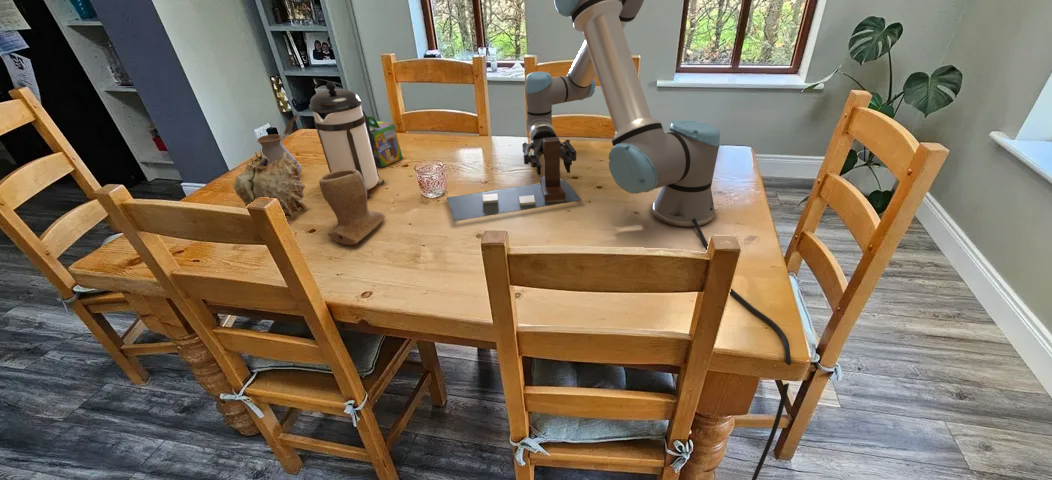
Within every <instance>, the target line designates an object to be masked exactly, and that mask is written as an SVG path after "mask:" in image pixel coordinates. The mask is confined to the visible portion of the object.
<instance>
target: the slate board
mask: <svg viewBox="0 0 1052 480" xmlns="http://www.w3.org/2000/svg"><path fill="white" fill-rule="evenodd" d="M561 182H562V185H563V188H564V191H565V202H554V203H545V201H544V198H543V194H542V190H541V186H540V182H539V183H532V184H526V185H520V186H513V187H505V188H500V189H494V190H488V191H487V190H486V191H480V192H473V193H466V194H460V195H454V196H447V197H446V200H447V203H448V207H449V208H450V213H451V216H452V219H453V222H459V221H464V220H471V219H477V218H482V217H488V216H496V215H501V214H507V213H508V214H509V213H514V212H519V211H524V210H525V211H526V210H530V209H531V210H532V209H537V208H543V207H549V206H555V205H563V204H566V203H573V202H580V201H582V199H581V197H580V196H579V195H578V194H577V193H576V191H575V190H574V189H573V188H572V186H571V185H570V184H569V183H568V182H567V180H566V179H561ZM484 194H497V196H498V203H485V204H483V195H484ZM532 195H534V199H535V205H523V206H520V202H519V196H532Z"/></svg>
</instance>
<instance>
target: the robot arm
mask: <svg viewBox="0 0 1052 480" xmlns="http://www.w3.org/2000/svg"><path fill="white" fill-rule="evenodd" d="M644 1H645V0H553V2H554V6H555V9H556V11H557V13H558V14H559V15H561V16H562V17H566V18H568V17H569V18H570V20H571V23H572V27H573V29H574V30H575V31H577V32H580V33H582V34H583V39H584V41H583V43H582V46H581V48H580V49H579V51H578V54H577V55H576V57H575V59H574V61H573V63H572V65H571V67H570V69H569V70H568V72H567V74H566V75H562V76H555V77H552V75H551V73H550V72H547V71H533V72H530V73H528V74H527V75H526V77H525V97H526V115H527V116H526V129H527V131H528V135H529V138H530V143H527V142H525V141H524V142H522V146H521V147H522V152H523V164H524V165H529V164H530V167H531V168H533V169H534V168H536V171H537V176H542V164H541V161H540V157H542V156H543V138H549V137H558V136H557V133H556V131H555V129H554V126H553V113H552V112H553V105H559V104H564V103H569V102H574V101H584V100H585V99H589V98H591V97H593V96H594V94H595V91H596V90H595V89H596V80H595V78H596V77H597V80H598V83H599V86H600V89H601V92H602V96H603V98H604V101H605V105H606V107H607V110H608V113H609V116H610V119H611V121H612V122H611V123H612V126H613V128H614V131H615V132H614V135H613V138H612V140H611V144H612V148H611V149H610V151H609V154H608V160H609V161H608V169H609V172H610V175H611V178H612V179H613V180H614V183H616V185H617V186H618V187H619V188H620V189H621V190H624V191H625V192H626V193H627V194H628V193H629V194H633V195H634V194H635V195H636V194H641V193H649V192H651V191H653V190H656V189H659V190H658V193H657V195H656V198H655V199H654V201H653V205H652V214H653V215H654V217H655V218H656V219H657V220H659V221H661V222H663V223H665V224H667V225H670V226H674V227H681V228H695V229H696V231H697V233H698V235H699V237H700V239H701V242H702V243H703V246H704V248H705V249H706V250H707V246H708V245H709V243H708V241H707V239H706V237H705V236H704V233H703V231H702V228H701V226H704V225H707V224H708V223H710V222H711V221H712V220H713V218H714V214H715V203H714V197H713V191H712V185H713V179H714V174H715V170H716V163H717V160H718V159H717V158H718V155H719V149H720V146H721V145H720V142H721V141H720V140H721V133H720V130H719V129H718V128H717V127H716V126H714V125H712V124H710V123H707V122H703V121H699V120H692V119H675V120H673V121H672V122H671V123H670V125H669V127H668V129H669V130H668V132H665V131H664V128H663V125H662V122H661V121H660V120H657V119H655V118H653V117H652V114H651V110H650V107H649V104H648V102H647V98H646V96H645V92H644V89H643V86H642V83H641V80H640V77H639V74H638V71H637V68H636V65H635V62H634V59H633V56H632V53H631V49H630V47H629V43H628V41H627V38H626V34H625V31H624V29H625V27H626V26H627V24H628V23H631V22H633V21H634V20H635V19H636V17H637V15H638V13H639V12H640V10H641V9H642V6H643V3H644ZM559 141H560V160H562V161H563V162H562V163H563V166H564V168H565V171H566V173H567V174H571V166H572V165H573V162H575V161H577V150H576V149H575V148H574V146H573V145H572V144H571V140H570V139H565V140H563V142H562V141H561V140H560V139H559ZM531 150H532V152H531V154H530V151H531ZM729 293H730V294H731V296H733V298H735V299H736V300H737V301H739V302H740V303H741V304H742V305H743V306H744V307H746V308H747V309H748V310H749V311H751V312H752V313H753V314H755V315H756V317H757V316H758V317H759V318H760V319H762V320H763V321H764V322H766V323H767V324H769V326H770V327H772V328H773V329H774V330H775V331H776V333H777V334H778V335H779V336H780V339H781V340H782V343H783V347H784V348H783V349H784V358H785V364H786V365H787V366H790V365H792V357H791V348H790V343H789V340H788V337H787V335H786V334H785V332H784V331H783V330H782V329H781V328H780V326H779V325H778V324H777V323H775V321H773V320H772V319H771V318H770V317H768V316H766V315H765V314H764V313H762V312H761V311H760V310H758V309H757V308H755V307H754V306H753V305H751V304H750V303H749V302H748V301H747V300H746V299H745V298H744V297H742V296H741V295H740V294H739V293H737V292H736V291H735V290H734V289H733V288H732V289H731V292H729ZM789 386H790V382H787V383H783V385H782V390H781V396H780V399H779V402H778V403H779V404H778V407H777V411H776V415H775V419H774V421H773V424H772V427H771V431H770V433H769V436H768V438H767V441H766V444H765V446H764V449H763V450H762V453H761V456H760V459H759V460H758V463H757V466H756V467H755V470H754V473H753V475H752V478H751V480H757V479H758V477H759V474H760V473H761V469H762V467H763V465H764V463H765V460H766V458H767V456H768V453H769V452H770V449H771V446H772V444H773V441H774V438H775V436H776V434H777V431H778V427H779V424H780V422H781V418H782V415H783V412H784V409H785V408H784V407H785V403H786V399H787V396H788V391H789Z"/></svg>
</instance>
